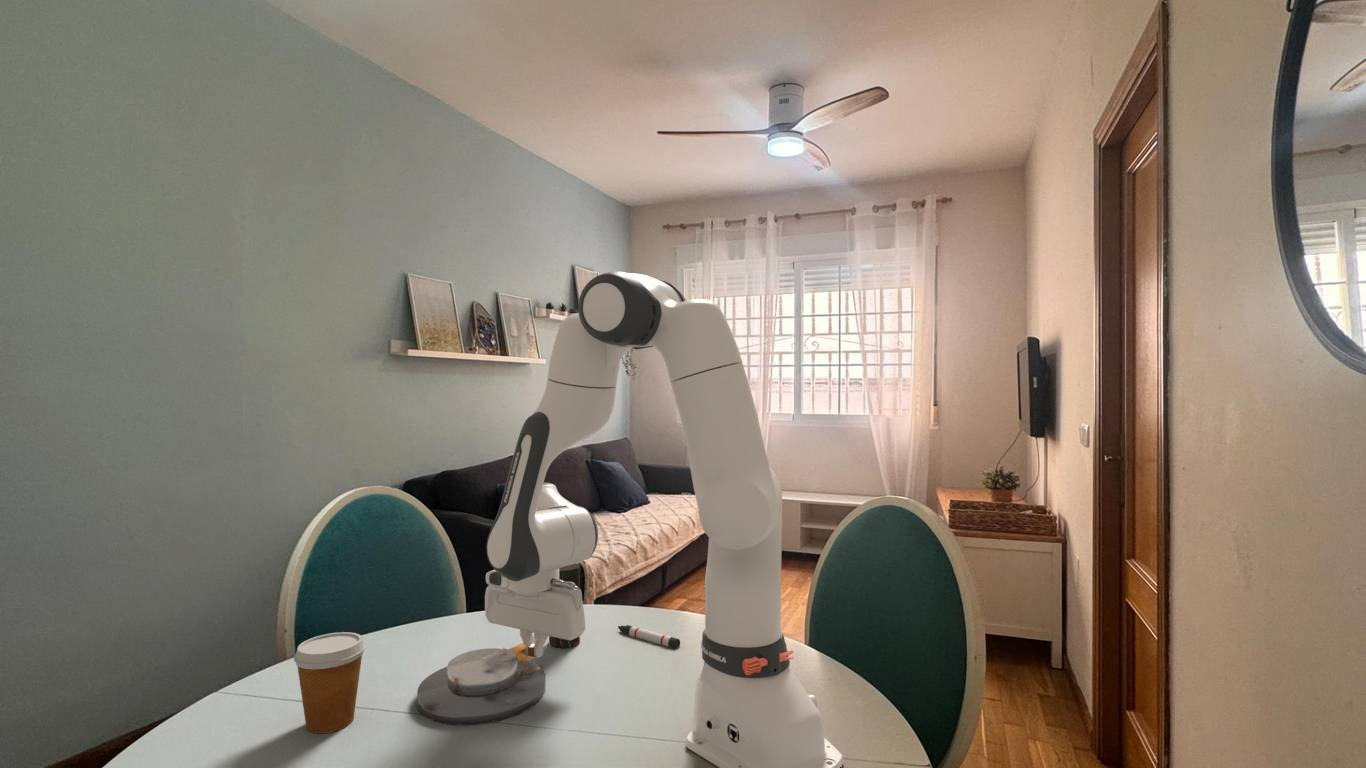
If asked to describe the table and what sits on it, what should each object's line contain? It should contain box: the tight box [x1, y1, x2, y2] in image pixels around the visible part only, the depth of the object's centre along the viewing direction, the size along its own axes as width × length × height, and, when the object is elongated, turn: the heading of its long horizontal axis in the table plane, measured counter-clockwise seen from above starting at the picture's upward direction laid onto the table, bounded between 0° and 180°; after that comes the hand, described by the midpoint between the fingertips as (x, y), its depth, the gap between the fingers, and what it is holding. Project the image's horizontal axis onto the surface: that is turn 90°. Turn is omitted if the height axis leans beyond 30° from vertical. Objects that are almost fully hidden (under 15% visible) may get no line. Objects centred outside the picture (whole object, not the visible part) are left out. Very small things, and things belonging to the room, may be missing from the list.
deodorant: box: [548, 563, 581, 650], centre depth 130 cm, size 6×6×15 cm
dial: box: [446, 638, 537, 696], centre depth 112 cm, size 18×11×3 cm, turn 149°
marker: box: [617, 624, 681, 649], centre depth 132 cm, size 15×2×2 cm, turn 54°
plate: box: [416, 660, 546, 726], centre depth 109 cm, size 20×20×2 cm
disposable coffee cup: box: [293, 631, 367, 734], centre depth 99 cm, size 10×10×12 cm
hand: (534, 655), depth 116 cm, fingers closed
